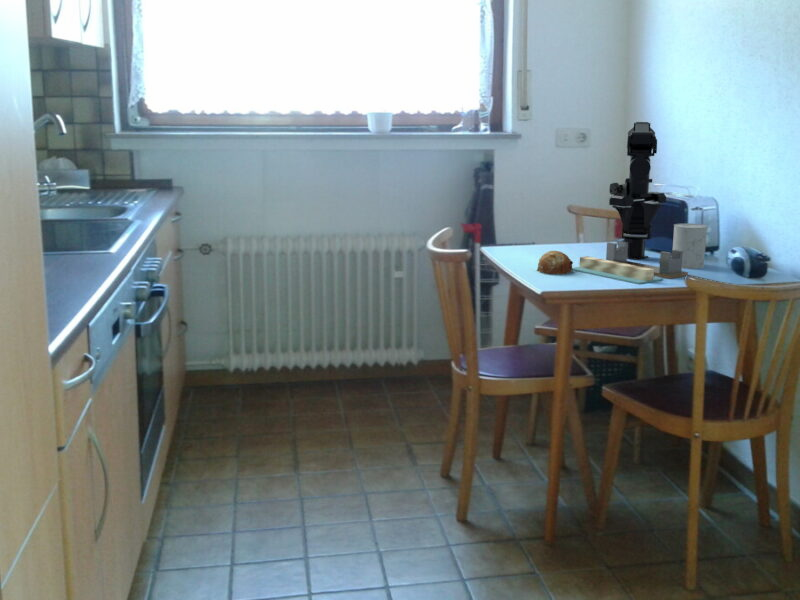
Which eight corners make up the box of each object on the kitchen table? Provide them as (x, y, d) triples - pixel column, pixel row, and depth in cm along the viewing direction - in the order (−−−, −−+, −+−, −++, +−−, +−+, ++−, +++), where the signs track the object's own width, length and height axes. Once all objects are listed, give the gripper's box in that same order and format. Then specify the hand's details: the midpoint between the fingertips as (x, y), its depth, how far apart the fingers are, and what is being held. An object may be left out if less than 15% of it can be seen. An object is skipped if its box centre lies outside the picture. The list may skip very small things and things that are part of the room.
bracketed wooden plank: (599, 265, 269) (600, 242, 267) (617, 262, 273) (618, 239, 271) (669, 278, 248) (671, 254, 246) (687, 275, 252) (689, 251, 251)
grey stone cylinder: (706, 264, 270) (709, 224, 267) (702, 269, 261) (705, 228, 259) (673, 262, 274) (676, 222, 271) (668, 267, 265) (671, 226, 263)
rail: (579, 267, 263) (579, 257, 262) (586, 266, 264) (587, 256, 264) (645, 281, 243) (646, 270, 242) (653, 279, 244) (653, 269, 244)
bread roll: (539, 280, 264) (528, 256, 262) (570, 265, 264) (560, 241, 262) (547, 287, 255) (536, 262, 253) (579, 271, 254) (569, 247, 253)
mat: (592, 266, 267) (592, 264, 267) (662, 280, 246) (662, 278, 246) (569, 269, 261) (569, 268, 261) (638, 284, 240) (638, 282, 240)
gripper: (639, 171, 270) (636, 222, 273) (596, 174, 259) (593, 227, 263) (668, 174, 261) (665, 226, 264) (625, 177, 250) (622, 232, 254)
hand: (636, 228), depth 261 cm, fingers open, 9 cm apart
